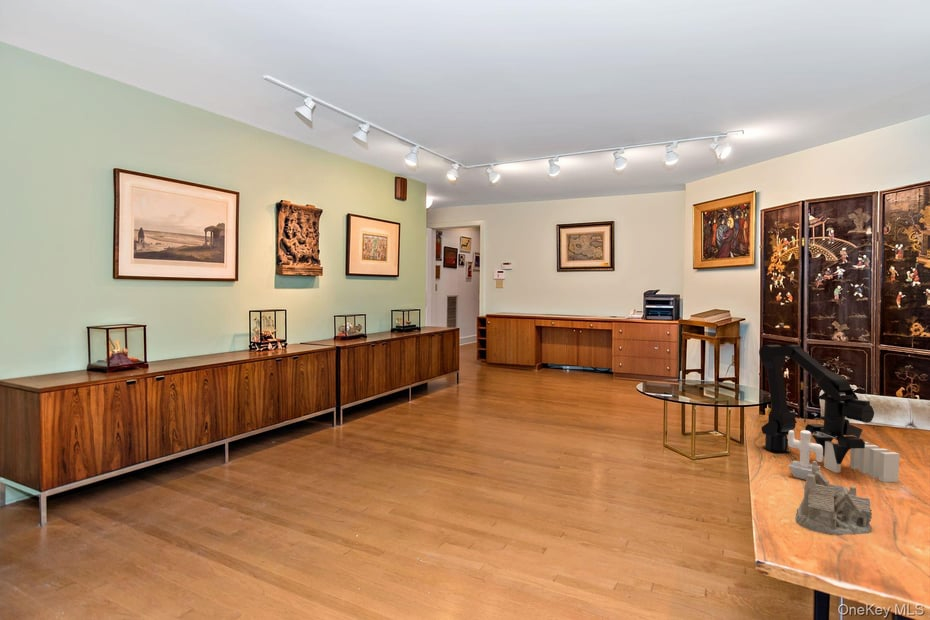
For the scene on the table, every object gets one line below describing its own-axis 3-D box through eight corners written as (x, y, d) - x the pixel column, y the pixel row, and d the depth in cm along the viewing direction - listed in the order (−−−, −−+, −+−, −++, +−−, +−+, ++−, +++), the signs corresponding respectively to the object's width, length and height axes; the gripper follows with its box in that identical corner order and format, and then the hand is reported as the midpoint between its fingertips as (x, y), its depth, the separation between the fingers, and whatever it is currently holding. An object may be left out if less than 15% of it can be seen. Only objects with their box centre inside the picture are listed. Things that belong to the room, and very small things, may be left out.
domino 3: (863, 473, 165) (864, 446, 165) (858, 471, 167) (860, 445, 166) (877, 473, 165) (878, 446, 165) (873, 471, 167) (874, 444, 166)
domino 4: (872, 477, 161) (874, 450, 161) (868, 475, 163) (869, 448, 162) (887, 477, 162) (888, 450, 161) (883, 475, 163) (884, 448, 163)
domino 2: (853, 469, 169) (854, 442, 168) (849, 467, 170) (851, 441, 170) (867, 469, 169) (869, 442, 169) (863, 467, 171) (864, 441, 170)
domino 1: (840, 472, 165) (841, 445, 165) (835, 472, 165) (836, 445, 165) (828, 467, 170) (829, 441, 170) (823, 467, 170) (825, 441, 170)
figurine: (818, 484, 155) (821, 436, 154) (783, 476, 162) (785, 430, 161) (824, 478, 160) (826, 432, 159) (789, 470, 167) (791, 426, 166)
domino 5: (883, 482, 158) (884, 454, 157) (878, 480, 159) (880, 452, 159) (898, 481, 158) (899, 453, 157) (893, 480, 159) (894, 452, 159)
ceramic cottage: (788, 522, 129) (796, 466, 128) (803, 506, 140) (810, 454, 139) (865, 549, 118) (873, 488, 117) (874, 529, 129) (882, 472, 128)
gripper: (882, 422, 158) (879, 471, 159) (835, 408, 177) (833, 451, 177) (848, 422, 157) (846, 471, 158) (805, 408, 176) (803, 451, 177)
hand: (832, 461), depth 168 cm, fingers closed on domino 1, 5 cm apart
